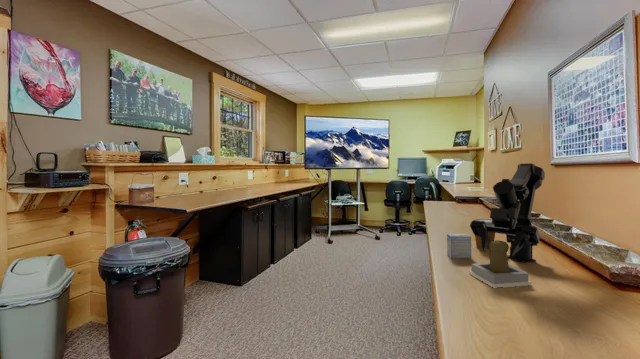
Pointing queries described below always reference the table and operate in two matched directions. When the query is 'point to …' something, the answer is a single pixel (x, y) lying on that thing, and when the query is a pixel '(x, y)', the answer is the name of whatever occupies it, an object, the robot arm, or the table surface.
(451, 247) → the medicine box
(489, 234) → the disposable coffee cup
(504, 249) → the cork
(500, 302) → the table surface
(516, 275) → the socket plate
